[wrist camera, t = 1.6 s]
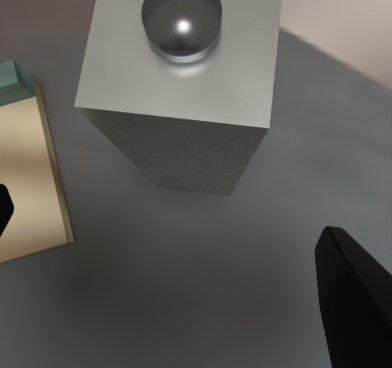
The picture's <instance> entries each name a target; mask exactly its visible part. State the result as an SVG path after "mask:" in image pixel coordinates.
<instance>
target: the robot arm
mask: <svg viewBox="0 0 392 368" xmlns="http://www.w3.org/2000/svg"><path fill="white" fill-rule="evenodd" d="M13 213H14V204H13V201H12V199H11V196H10V194H9V191H8V189H7V187H6V186H5V185H4V184H0V237H1V236H2V234H3V232H4V230H5V228H6V226H7V224H8V223H9V221H10V219H11V217H12V215H13ZM315 263H316V274H317V285H318V297H319V306H320V311H321V317H322V322H323V326H324V331H325V336H326V341H327V346H328V350H329V355H330V360H331V365H332V368H392V275H391V274H390V273H389V272H388V271H387V270H386V269H385V268H384V267H383V266H382V265H381V264H380V263H379V262H378V261H377V260H375V259H374V258H373V257H372V256H371V255H370V254H369V253H368V252H367V251H366V250H365V249H364V248H363V247H362V246H361V245H360V244H359V243H358V242H357V241H355V240H354V239H353V238H352V237H351V236H350V235H349V234H348V233H347V232H346V231H345V230H344V229H342V228H340V227H333V226H326V227H325V228H324V229H323V231H322V233H321V236H320V238H319V240H318V242H317V245H316V247H315Z"/></svg>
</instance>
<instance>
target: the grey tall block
mask: <svg viewBox="0 0 392 368" xmlns="http://www.w3.org/2000/svg"><path fill="white" fill-rule="evenodd" d="M281 1H282V0H96V4H95V9H94V13H93V18H92V23H91V28H90V33H89V38H88V42H87V47H86V52H85V57H84V62H83V66H82V71H81V76H80V81H79V86H78V91H77V95H76V100H75V105H74V107H75V108H76V109H77V110H78V111H79V112H81V113H82V114H83V115H84V116H85V117H86V118H87V119H88V120H89V121H90V122H91V123H92V124H93V125H94V126H95V127H96V128H97V129H98V130H99V131H100V132H101V133H103V134H104V135H105V136H106V137H107V138H108V139H109V140H110V141H111V142H112V143H113V144H114V145H115V146H116V147H117V148H118V149H119V150H120V151H121V152H122V153H124V154H125V155H126V156H127V157H128V158H129V159H130V160H131V161H132V162H133V163H134V164H135V165H136V166H137V167H138V168H139V169H140V170H141V171H142V172H143V173H144V174H146V175H147V176H148V177H149V178H150V179H151V180H152V181H153V182H154V183H155V184H156V185H157V186H163V187H171V188H179V189H187V190H195V191H203V192H211V193H219V194H227V195H230V194H231V192H232V191H233V189H234V187H235V186H236V184H237V182H238V180H239V179H240V177H241V175H242V174H243V172H244V170H245V169H246V167H247V165H248V163H249V162H250V160H251V158H252V157H253V155H254V153H255V152H256V150H257V148H258V147H259V145H260V143H261V141H262V140H263V138H264V136H265V135H266V133H267V131H268V130H269V126H270V115H271V105H272V95H273V84H274V74H275V64H276V54H277V43H278V33H279V23H280V12H281Z"/></svg>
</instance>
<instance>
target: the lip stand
mask: <svg viewBox="0 0 392 368" xmlns="http://www.w3.org/2000/svg"><path fill="white" fill-rule="evenodd" d="M0 184H4V185H5V186H6V187H7V189H8V191H9V194H10V196H11V199H12V201H13V204H14V213H13V215H12V217H11V219H10V221H9V223H8V224H7V226H6V228H5V230H4V232H3V234H2V236H1V237H0V264H2V263H5V262H8V261H12V260H15V259H18V258H22V257H25V256H28V255H32V254H35V253H38V252H42V251H45V250H48V249H52V248H55V247H58V246H62V245H65V244H68V243H72V242H74V239H73V234H72V230H71V225H70V220H69V216H68V211H67V207H66V202H65V198H64V193H63V189H62V184H61V180H60V175H59V171H58V166H57V162H56V157H55V153H54V148H53V143H52V139H51V134H50V130H49V125H48V121H47V116H46V112H45V107H44V103H43V98H42V94H41V89H40V85H39V82H37V81H36V80H35V79H34V78H33V77H32V76H31V75H30V74H29V73H27V72H26V71H25V70H24V69H23V68H22V67H21V66H20V65H18V64H17V63H16V62H15V61H14V60H11V61H7V62H4V63H0Z"/></svg>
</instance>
